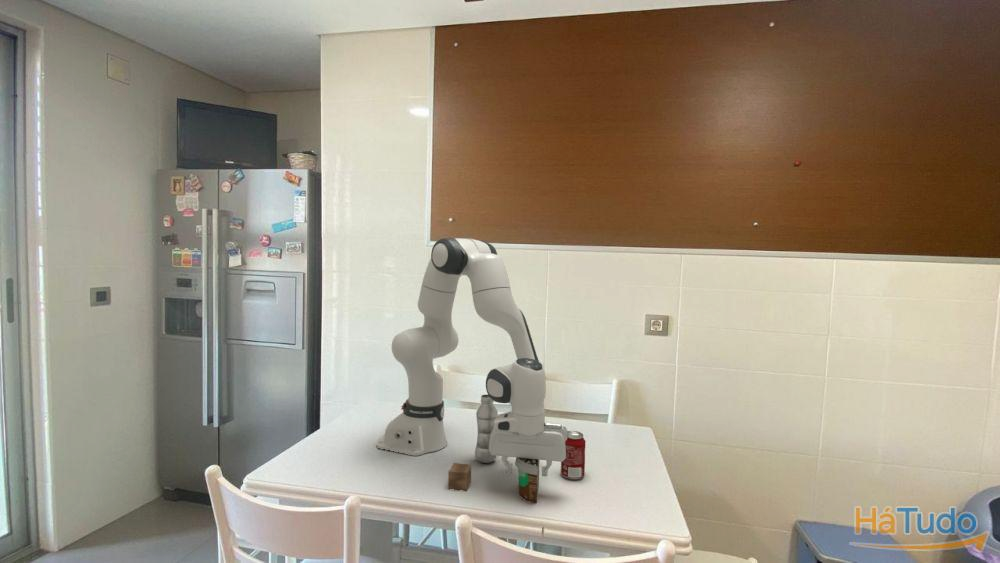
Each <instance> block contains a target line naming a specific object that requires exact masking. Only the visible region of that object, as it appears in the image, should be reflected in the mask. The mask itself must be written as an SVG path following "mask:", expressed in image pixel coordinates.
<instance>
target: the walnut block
mask: <svg viewBox="0 0 1000 563" xmlns="http://www.w3.org/2000/svg"><path fill="white" fill-rule="evenodd" d="M447 480H448V482H447V484H448V485H447V486H448V488H447V489H448V490H450V489H454V490H453V491H459V490H463V491H462V492H467V491H468V490H467V489H469V488H470V485H471V482H472V464H469V463H458V462H453V463H452V465H451V466H450V468H449V470H448V479H447Z"/></svg>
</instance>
